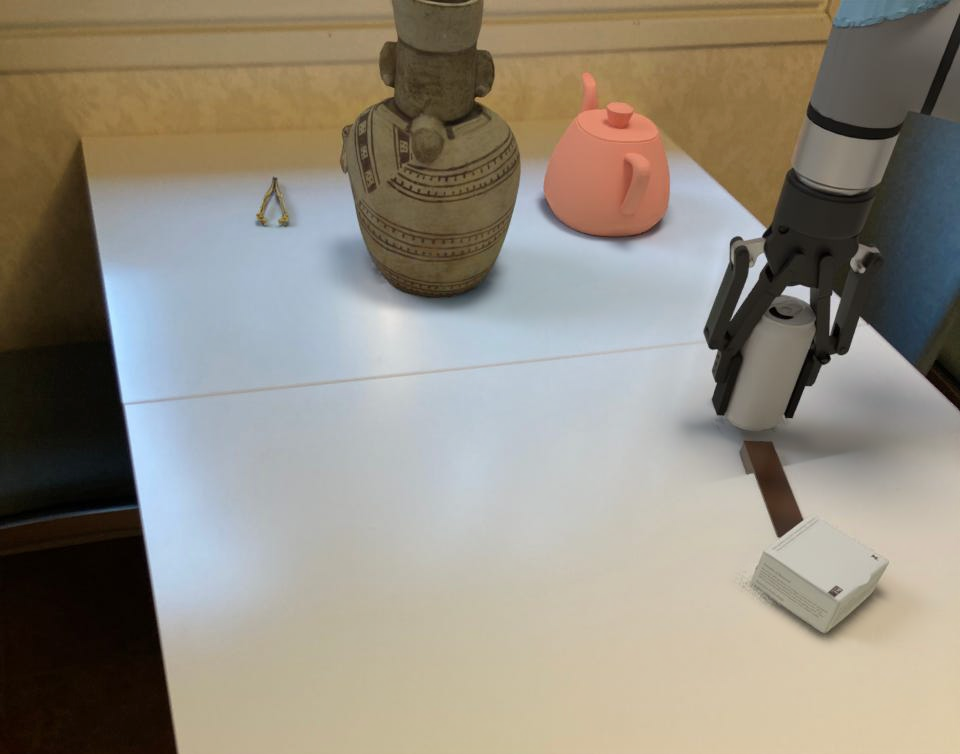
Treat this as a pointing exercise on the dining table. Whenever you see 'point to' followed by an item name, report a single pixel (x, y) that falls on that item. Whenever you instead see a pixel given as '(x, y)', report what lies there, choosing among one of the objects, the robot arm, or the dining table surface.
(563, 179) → the teapot
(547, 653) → the dining table surface
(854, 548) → the small box
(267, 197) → the tongs
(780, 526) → the walnut slat
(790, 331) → the beverage can
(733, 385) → the robot arm
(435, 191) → the ceramic vessel
